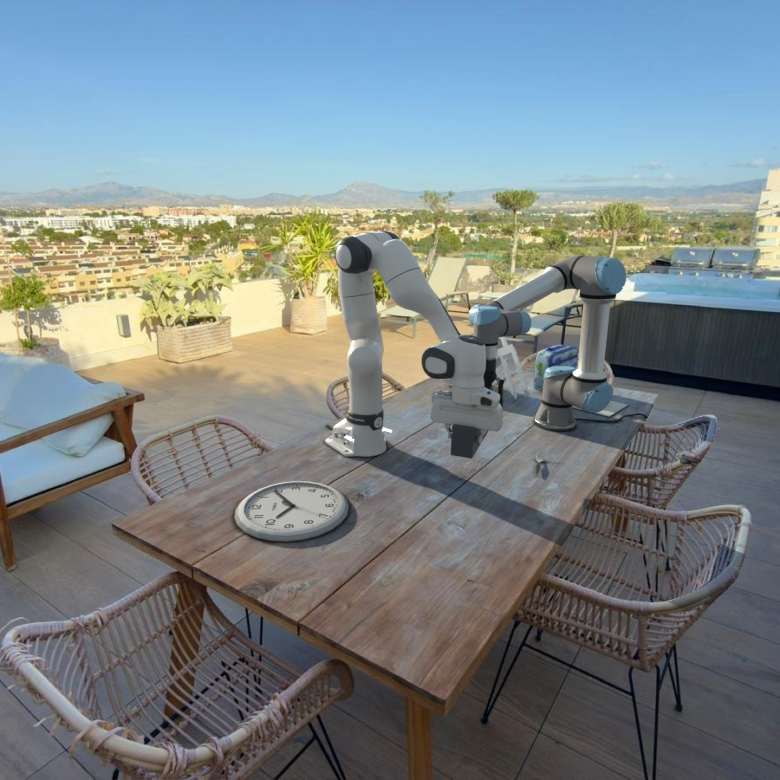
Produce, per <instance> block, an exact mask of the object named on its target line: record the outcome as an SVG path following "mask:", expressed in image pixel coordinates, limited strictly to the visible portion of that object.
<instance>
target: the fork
mask: <svg viewBox="0 0 780 780" xmlns="http://www.w3.org/2000/svg"><path fill="white" fill-rule="evenodd" d="M545 453H546V451H544V452H543V453H541V452H539V451H537V452H536V457H535V461H536V462H537V464H536V466H535V475H536V476H537V475H538V473H539V471H540V469H541V463H542V462H544V461H545Z"/></svg>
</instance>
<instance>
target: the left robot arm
mask: <svg viewBox="0 0 780 780" xmlns="http://www.w3.org/2000/svg"><path fill="white" fill-rule="evenodd" d="M334 259H335V263H336V265H337V266H338V269H337V283H338V285H337V286H338V294H339V301H340V307H341V313H342V314H341V315H342V319H343V320H342V321H343V323H344V326H345V329H346V333H347V337H348V342H349V349H348V352H347V355H346V357H347V358H346V361H347V362H346V363H347V364H346V365H347V377H348V388H349V389H348V390H349V394H348V397H349V400H348V402H349V403H348V404H349V407H348V408H346V409H343V411H344V412H343V414H346V416H345V417H344V418H343V419H342V420H340V421H338V422H337V423H336V424H334V426H331V425H329V424H328V423H326V424H325V426H326V425H327V424H328V425H327V426H326V427H327V428H328V429H330V430H331V435H330V436H328V437H326V439H325V440H324V442H325V444H326V445H328V446H329V447H331V448H332V449H334V450H335V451H337V452H338V453H340V454H341V455H342V456H344V457H349V458H351V457H363V458H364V457H365V458H366V457H375V456H379V455H381V454H383V453H385V452H386V451H387V444H386V443H387V438H386V437H385V432H389V433H392V432H393V430H392V429H389V428H386V427H384V417H385V414H384V413H385V412H384V408H383V391H384V390H383V388H384V387H383V357H384V353H385V352H384V351H385V347H384V341H383V336H382V330H381V323H380V319H379V314H378V308H377V307H378V306H377V300H376V293H375V286H374V280H373V276H374V274H375V272H376V271H377V272H378V273H379V275H380V276H381V279H382V281H383V284H384V285H385V288H386V290H387V292H388V294H389V296H390V298H391V300H392V301H393V303H395V305H397V306H398V307H399V308H401V309H404V310H408V311H411V312H414V313H416V314H419V315H421V316H422V317H423V318H425V319H426V321H427V322H428V324H429V326H430V327H431V329H432V330H433V332H434V334H435V336H436V338H437V339H438V341H439V343H437V344H434V345H432V346H430V347H428V348H426V349H425V350H424V352H423V353H422V355H421V362H420V364H421V367H422V370H423V372H424V374H426V376H428V377H429V378H430V379H433V380H441V379H451V380H452V384H451V391H446V390H445V391H444V390H436V391H433V392H432V393H431V399H430V401H431V403H432V406H431V409H430V420H431V421H432V423H437V424H444V429H445V430H446V432H447V438H448V439H450V440H451V437H452V426H453V424H457V425H463V426H470V427H475V428H477V429H481V430H480V432H481V433H482V434H481V435H477V437H476V443H481V444H483V441H482V437H483V436H484V434H485V433H486V431H487V430H490V432H496V433H498V432H500V430H502V428H503V425H504V424H503V423H504V412H503V408H502V406H501V405H500V403H499V401H500V394H498V392H497V391H495V390H493V391H492V390H489V389H487V388H485V387H484V373H485V370H486V348H485V344H484V342H483V341H482V340H481V339H480V338H478V337H475V336H473V335H471V334H461V333H460V331H459V330H458V328H457V326H456V325H455V323H454V320H453V319H452V317H451V316H450V314H449V312H448V311H447V309H446V307H445V305H444V304H443V302H442V301H441V299H440V297H439V296H438V295H437V293H436V292H435V291H434V290H433V288H432V287H431V285H430V283H429V282H428V280H427V278H426V276H425V275H424V273H423V271H422V268H421V266H420V264H419V262H418V261H417V258H416V256H415V255H414V254H413V252H412V251H411V249H410V248H409V246H408V245H407V244H406V243H405V241H404V240H402V239H400V237H399V236H398V235H397V234H396V233H394V232H393V231H388V230H380V231H367V232H364V233H360V234H356V235H349V236H346V237H344V238H342V239H340V240H339V241H338V242H337V244H336V245H335V248H334Z"/></svg>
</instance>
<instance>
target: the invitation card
mask: <svg viewBox="0 0 780 780" xmlns="http://www.w3.org/2000/svg"><path fill="white" fill-rule="evenodd" d="M628 406H629V404H627V403H623V402H618V401H614V400H611V401H610V403H609V404H608V405H607V406H606V408H605V409H603V410H602V411H600V412H597V413H595V414H596V415H600V416H604V417H608V418H609V417H611V416H613V415H614V414H616V413H617V412H619V411H621V410H623V409H624V408H626V407H628ZM573 409H575V410H581V411H584V410H583V409H580V408H577V407H575V406H573ZM587 413H590V412H589V411H587Z"/></svg>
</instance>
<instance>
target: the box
mask: <svg viewBox="0 0 780 780" xmlns="http://www.w3.org/2000/svg"><path fill="white" fill-rule="evenodd" d="M451 430H452V437H451V439H450V456H454V457H459V458H464V459H473V458H474V456H475V455H476V453H477V451H478V450H479V448H480V446H481V444H482V443H476V437H477V435H481V434H482V433H481V432H480V430H481V429H477V428H475V427H470V426H463V425H457V424H453V425H451ZM488 432H489V430H487V431H486V433H485V434H484V436H483V437H482V442H483V441H484V439H485V438H486V436H487V435H488Z"/></svg>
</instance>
